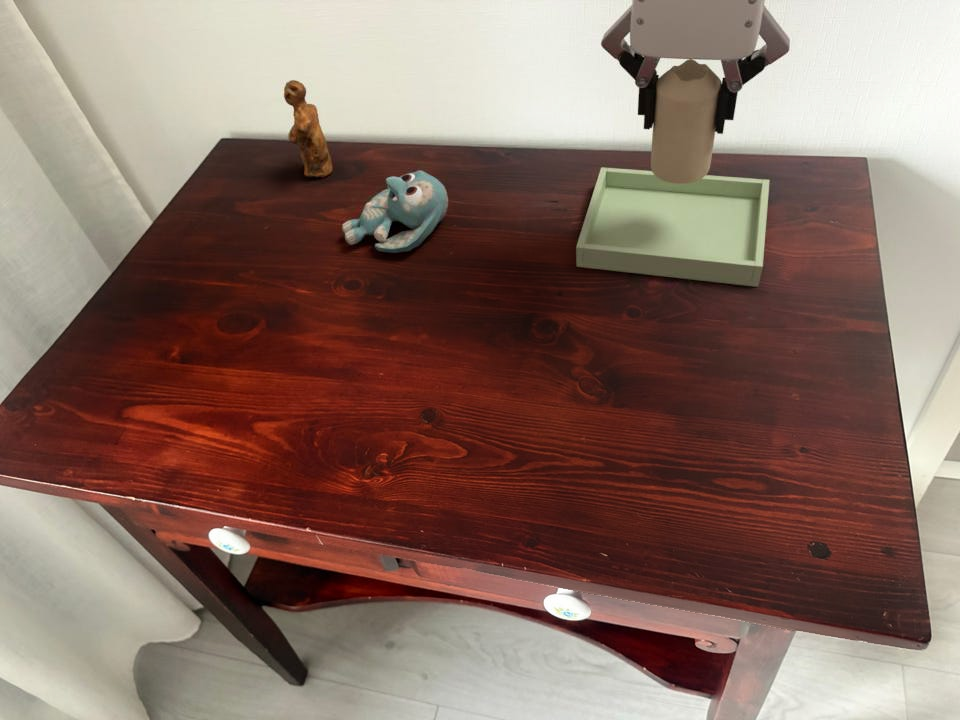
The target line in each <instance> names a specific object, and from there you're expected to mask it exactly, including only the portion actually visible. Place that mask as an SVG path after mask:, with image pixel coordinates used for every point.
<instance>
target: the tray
mask: <svg viewBox="0 0 960 720" xmlns="http://www.w3.org/2000/svg"><path fill="white" fill-rule="evenodd" d="M770 181H771V180H770V179H765V178H764V179H762V178H760V179H759V178H750V177H737V176H736V177H735V176H723V175H709V174H706V176H704V177H703V178H702V179H700V180H698V181H695V182H692V183H686V184H675V183H669V182H666V181H663V180H661V179H659V178H658V177H656V176H655V175H654V174H653V172H652V170H644V169H643V170H642V169H629V168H616V167H600V170H599V173H598V177H597V180H596V182H595V186H594V189H593V192H592V196H591V198H590V200H589V201H590V202H589V205H588V208H587V211H586V215H585V217H584V221H583V224H582V226H581V231H580V234H579V237H578V240H577V243H576V247H575V255H576V256H575V257H576V259H575V260H576V261H575V262H576V267H578V268H585V269H594V270H604V271H612V272H621V273H630V274H640V275H646V276H647V275H649V276H656V277H657V276H658V277H666V278H677V279H684V280H693V281H702V282H711V283H719V284H729V285H738V286H747V287H756V288H758V287H759V286H760V281H761V276H762V272H763V267H764V257H765V256H764V254H765V243H766V231H767V218H768V217H767V216H768V205H769V193H770Z"/></svg>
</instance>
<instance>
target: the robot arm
mask: <svg viewBox="0 0 960 720" xmlns="http://www.w3.org/2000/svg"><path fill="white" fill-rule="evenodd" d="M627 35H629V43H628V41H627V40H626V39H625V38H626V37H627ZM759 36H760V38H761V39H762V41H764V43H765V44H764V45H762V47H760V48H759V49H756V47H757V43H758V39H759ZM600 45H601V47H602V49H604V50H605V51H606V52H607V53H608V54H609V55H610V56H611V57H612V58H613V59H615V60H617V61H618V63H619V65H620V67H621V68H622V69H623V70H624V71H625V72H626V73H627V74H628V75H629V76H630V77H631V78H632V79H633V80H634V84H635V86H636V87H637V88H638V98H637V99H638V100H637V115H638V116H643V118H644V119H643V130H650V129H653V121H654V107H655V92H656V83H657V80H658V79H659V78H660V75H659V74H658V71H657V67H658V65H659V62H660V60H661V59H675V60H676V59H677V60H690V59H692V60H702V61H703V60H705V61H720V62H721V63H720V64H721V67H722V71H723V77H722V79H721V83H722V85H721V91H720V98H719V105H718V113H717V120H716V127H715V133H716V134H717V135H723V134H724V130H725V123H726V121H734V118H735V112H736V105H737V100H738V99H737V98H738V94H739V92H740V91H741V90H742V89H743V86H744V85H745V84H747V83H749V81H751V80H752V79H754V78H755V77H757V76H758V75H759V74H760V73H762V72H763V71H764V70H765V68H766V67H768V66H769V65H772V64H773V63H774V62H776V61H778V60H780V59H781V58H782V57H784V56H786V55H787V54H788V53H789V52H790V47H791V46H790V45H791V39H790V37H789V36H788V34H787V33H786V32H785V31H784V29H783V28H782V27H781V26H780V24H779V23H778V21H777V20H776V19H775V18H774V16H773V15H772V13H771V12H770V11H769V10H768V8H767V7H766V5H765V0H632V2H631V5H630V6H629V8H627V9H626V11H624V13H623V14H622V15H621V16H620V17H619V18H618V19H617V20H616V21H615V22H614V23H613V24H612V25H611V26H610V27H609V28H608V29H607V30H606V31H605V32H604V34H603V36H602V39H601V41H600Z"/></svg>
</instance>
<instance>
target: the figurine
mask: <svg viewBox="0 0 960 720" xmlns="http://www.w3.org/2000/svg"><path fill="white" fill-rule="evenodd" d="M306 96H307V88H306V86H305V85H304V84H303V83H302V82H300V81H298V80H297V79H296V80H295V79H292V80H289V81H287V82H286V83H285V85H284V88H283V98H284V100H285V102H286V103H287V104H288V105H289V106H291V107H293V121H294V122H293V125H292V126H291V128H290V129H289V132H288V134H287V135H288V136H287V137H288V140H289V141H290V143H291V144H295V145H297V146H298V148H299V149H300V150H299V153H300V157H301V159H302V163H303V166H304V168H303V169H304V172H303V174H304V176H305V177H307V178H310V179H312V178H313V177H314V178H316V179H317V178H321V179H322V178H326V177H327V176H328V175H330V174H331V173H332V171H333V170H334V165H333V163H332V158H331V155H330V153H329V152H330V151H329V149H328V143H327V140H326V137H325V135H324V132H323V129H322V126H321V125H320V119H319V113H318V109H317V106H316V105H315V104H313V103H307V100H306Z"/></svg>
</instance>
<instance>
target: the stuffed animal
mask: <svg viewBox="0 0 960 720" xmlns="http://www.w3.org/2000/svg"><path fill="white" fill-rule="evenodd" d="M385 183H386V185H387V188H386V189H383V190H382V191H381V192H379V193H377V194H376V195H374V197H372V198H371V199H370V200H369V201H368V202H366V203H365V205H364V208H363V209H362V212H361V214H360V217H359V218H354V219H350V220H347V221H345V222H343V224H342V225H341V226H342V227H341V230H342V232H343V234H344V239H345V240H344V241H346V243H347V244H348V245H350V246H353V245H356V244H358V243H359V242H361V241H362V240H363V239H364V238H365V236H367V235H369V236H374V239H376V241H378V242H377V243H375V244H374V248H375V249H376V250H377V251H379V252H381V253H382V252H383V253H391V254H392V253H393V254H396V253H404V252H405V253H406V252H411V251H412V250H413V249H415V248H417V247H420V245H421V244H422V243H423V242H424V241H425V240H426V239H427V237H428V236H429V235H431V233H432V232H433V231H434V230H435V228H436V227H437V225H438V224H439V223H440V222H441V221H442V220H444V218H445V216H446V214H447V211H448V207H449V197H448V192H447V189H446V187H445V185H444V184H443V183H442V182H441V181H439V179H437V178H436V177H434V176H432V175H431V174H429V173H427V172H425V171H423V170H422V169H421V170H416V171H415V172H414V171H413V172H409V173H406V174H403V175H401V176H395V175H392V176H388V177H386V178H385ZM393 222H399V223H401V224H403V225H404V226H406V227H408V228H409V229H410V230H409V229H408V230H402V231H400V232H398V233H396V234H394V235H392V236H390V237H389V238H388V236H389V233H390V228H391V226H392V224H393Z"/></svg>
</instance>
